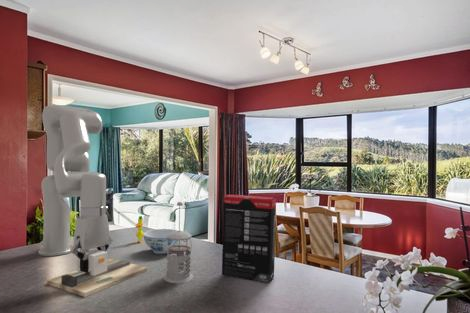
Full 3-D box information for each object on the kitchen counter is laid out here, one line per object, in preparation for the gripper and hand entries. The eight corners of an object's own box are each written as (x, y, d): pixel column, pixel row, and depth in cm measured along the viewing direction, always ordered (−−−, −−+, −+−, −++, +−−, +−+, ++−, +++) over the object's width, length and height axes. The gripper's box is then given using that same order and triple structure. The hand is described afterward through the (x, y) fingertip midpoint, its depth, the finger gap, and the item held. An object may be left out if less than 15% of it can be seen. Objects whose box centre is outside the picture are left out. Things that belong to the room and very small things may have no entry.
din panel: (47, 283, 98) (47, 272, 98) (111, 261, 119) (111, 252, 119) (85, 297, 89) (85, 284, 89) (146, 270, 110) (146, 260, 110)
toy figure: (140, 244, 142) (140, 218, 143) (132, 244, 143) (132, 217, 143) (145, 240, 149) (146, 215, 149) (138, 240, 150) (138, 215, 150)
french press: (157, 280, 102) (158, 202, 102) (176, 268, 113) (177, 198, 113) (183, 285, 98) (185, 204, 99) (201, 272, 109) (202, 200, 109)
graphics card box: (275, 277, 106) (277, 196, 106) (271, 285, 100) (272, 198, 100) (227, 270, 112) (229, 193, 112) (220, 277, 105) (222, 195, 105)
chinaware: (187, 250, 135) (187, 232, 135) (161, 259, 123) (161, 239, 123) (162, 244, 143) (162, 227, 143) (135, 252, 131) (135, 234, 131)
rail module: (77, 270, 101) (77, 252, 101) (90, 266, 105) (91, 248, 105) (95, 276, 97) (95, 256, 97) (108, 271, 101) (108, 252, 101)
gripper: (107, 207, 111) (106, 259, 111) (60, 214, 96) (59, 275, 96) (122, 209, 107) (121, 263, 107) (76, 217, 92) (75, 280, 92)
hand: (92, 268), depth 101 cm, fingers closed on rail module, 5 cm apart
